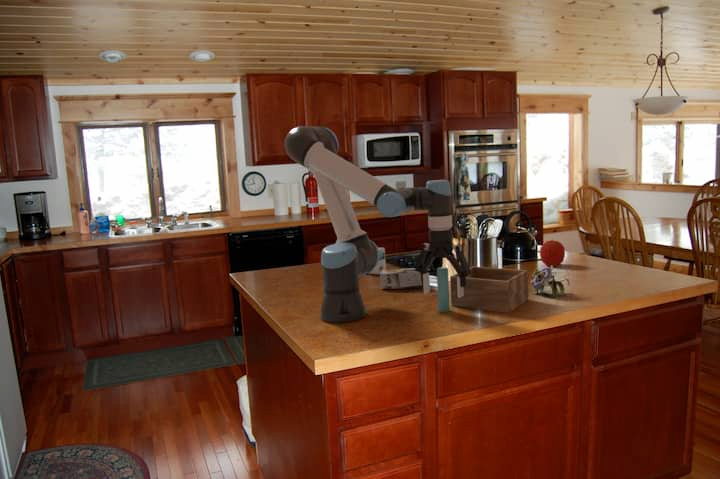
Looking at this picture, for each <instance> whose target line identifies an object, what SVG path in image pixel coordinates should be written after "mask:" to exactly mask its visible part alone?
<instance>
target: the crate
mask: <svg viewBox="0 0 720 479" xmlns="http://www.w3.org/2000/svg"><path fill="white" fill-rule="evenodd" d="M469 268H470V270H471V274H470V275H467V276H466V285H465V287H464V296H462V297H460V298H458V290H457V277H459V275H458V274H457V273H455V274H453V275H450V278H449V279H450V281H449V282H450V299H451V300H450V303H451V306H452V307H459V308H467V309H474V310H481V311H490V312H498V313H505V314H506V313H507V314H509V313H511V312H513V311H514V310H515V309H516V308H518V307H520V305H523V304H524V303H526V301H528V300H529V275H528V274H529V271H528V270H525V269H514V268H512V269H511V268H500V267H499V268H497V267H486V266H474V265H472V266H469ZM451 306H450V307H451Z"/></svg>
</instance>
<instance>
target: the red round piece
mask: <svg viewBox="0 0 720 479" xmlns="http://www.w3.org/2000/svg"><path fill="white" fill-rule="evenodd" d="M539 249H540V250H539V257H540V260H541V262H542V263H543V264H544V265H545V266H546V267H547V268H550V266H551V265H553V268H554V267H559V265H561V264H562V263H564V260H565V259H564V258H565V256H566V251H565V250H566V249H565V246H564V245H563V243H561V242H560V241H558V240H553V239H550V240H547V241H545V242H543V243H542V245H541V246H540V248H539Z"/></svg>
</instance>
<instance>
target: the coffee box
mask: <svg viewBox="0 0 720 479" xmlns="http://www.w3.org/2000/svg"><path fill="white" fill-rule="evenodd" d="M415 269H416V267H415V268H411V267H410V268H386V269H383V271H382V272H381V273H380V274H379V277H380V278H379V279H380V289H381V290H392V289H393V290H399V289H402V290H403V289H404V290H405V289H408V290H409V289H410V290H413V289H416V290H417V289H418V290H420V289H424V285H423V283H422V282H421V273H420V272H416V271H415Z"/></svg>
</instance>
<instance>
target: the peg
mask: <svg viewBox="0 0 720 479" xmlns="http://www.w3.org/2000/svg"><path fill="white" fill-rule="evenodd" d="M436 282H437V302H438V303H437V304H438V305H437V307H438V312H440V313H448V312H450V311H451V310H450V309H451V306H450V286H449V285H450V283H449V282H450V281H449V268H448V267H437V268H436Z"/></svg>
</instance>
